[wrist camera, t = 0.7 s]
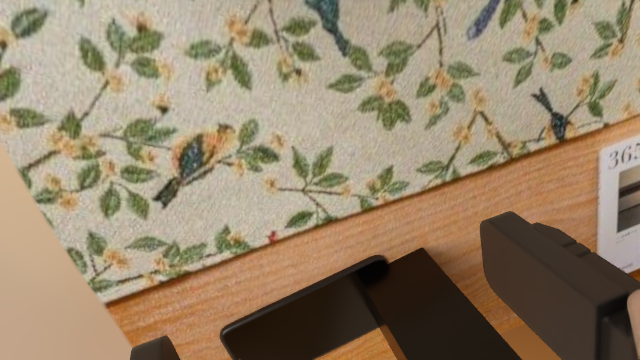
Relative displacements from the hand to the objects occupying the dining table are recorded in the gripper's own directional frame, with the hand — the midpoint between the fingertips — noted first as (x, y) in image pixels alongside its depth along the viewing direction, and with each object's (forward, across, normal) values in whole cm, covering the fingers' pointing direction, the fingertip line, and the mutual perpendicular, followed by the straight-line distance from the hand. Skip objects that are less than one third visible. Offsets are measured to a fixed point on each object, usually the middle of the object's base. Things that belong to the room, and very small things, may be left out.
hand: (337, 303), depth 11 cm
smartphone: (+25, 0, +22) cm, 33 cm away
